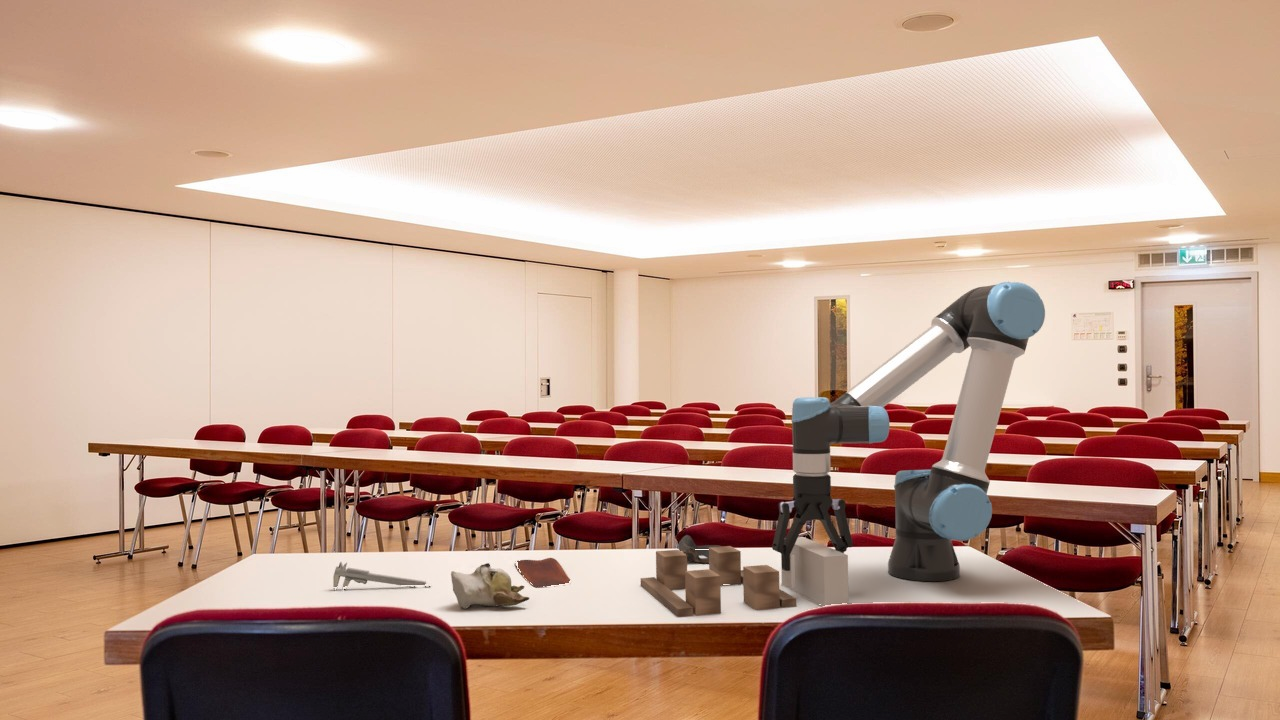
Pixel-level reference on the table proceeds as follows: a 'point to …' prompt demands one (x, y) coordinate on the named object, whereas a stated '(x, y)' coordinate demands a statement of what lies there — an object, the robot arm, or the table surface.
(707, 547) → the pottery fragment
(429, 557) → the table surface
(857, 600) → the table surface
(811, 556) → the light grey rectangular block
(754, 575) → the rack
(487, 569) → the ceramic sculpture
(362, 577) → the caliper
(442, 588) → the table surface
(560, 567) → the wooden tablet
